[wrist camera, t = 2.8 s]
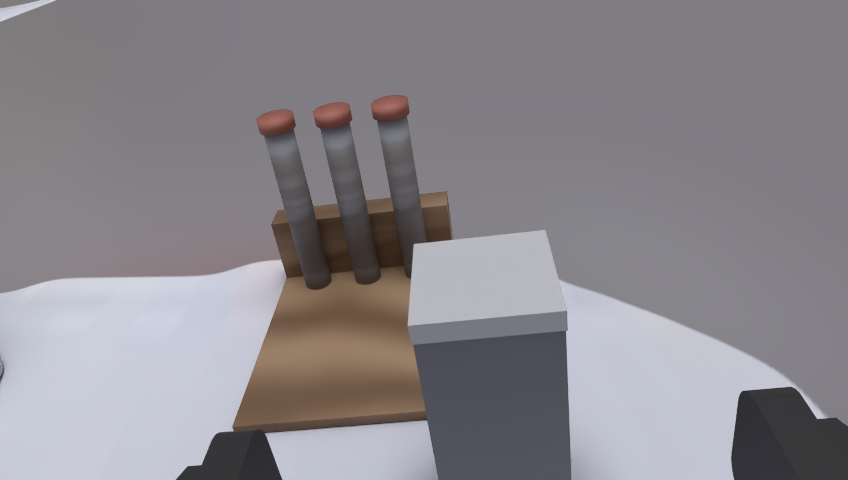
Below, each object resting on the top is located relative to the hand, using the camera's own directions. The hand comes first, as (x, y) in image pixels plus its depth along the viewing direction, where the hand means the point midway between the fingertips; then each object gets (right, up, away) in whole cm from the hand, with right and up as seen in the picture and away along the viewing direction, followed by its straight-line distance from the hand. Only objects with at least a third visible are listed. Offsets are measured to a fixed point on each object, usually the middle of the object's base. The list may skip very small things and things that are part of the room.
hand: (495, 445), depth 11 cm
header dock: (-5, -3, +29) cm, 30 cm away
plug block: (+3, -8, +18) cm, 20 cm away
